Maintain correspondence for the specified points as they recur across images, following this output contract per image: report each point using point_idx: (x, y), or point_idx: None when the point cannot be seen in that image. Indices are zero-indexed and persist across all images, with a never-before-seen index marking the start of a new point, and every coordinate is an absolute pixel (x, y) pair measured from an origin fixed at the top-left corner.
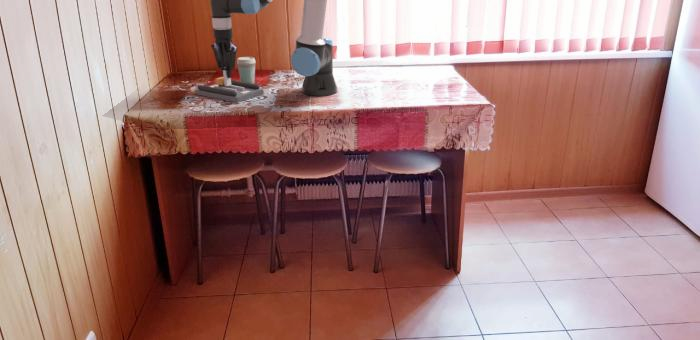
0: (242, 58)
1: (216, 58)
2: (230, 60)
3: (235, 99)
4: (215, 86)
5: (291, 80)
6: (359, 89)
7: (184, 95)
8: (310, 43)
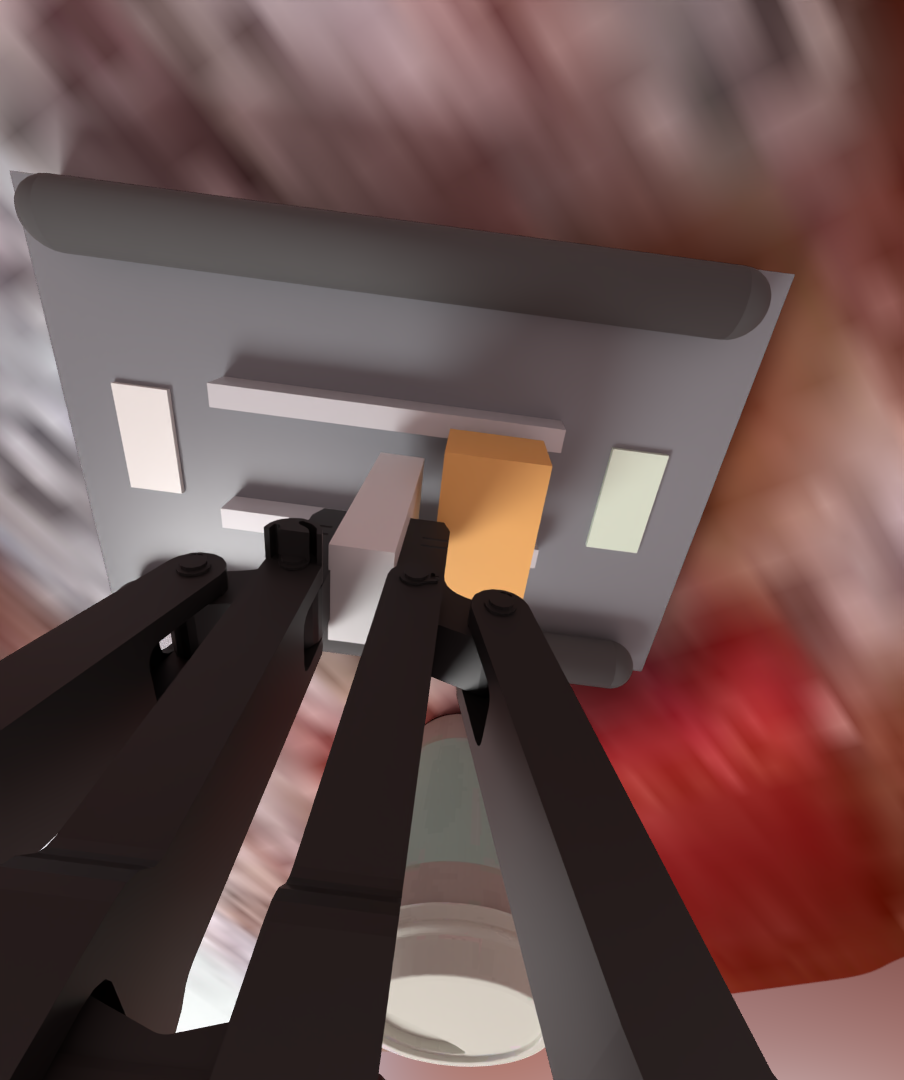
0: (501, 1020)
1: (564, 746)
2: (20, 678)
3: None
4: (544, 427)
5: (274, 890)
6: None
7: (897, 142)
8: None
